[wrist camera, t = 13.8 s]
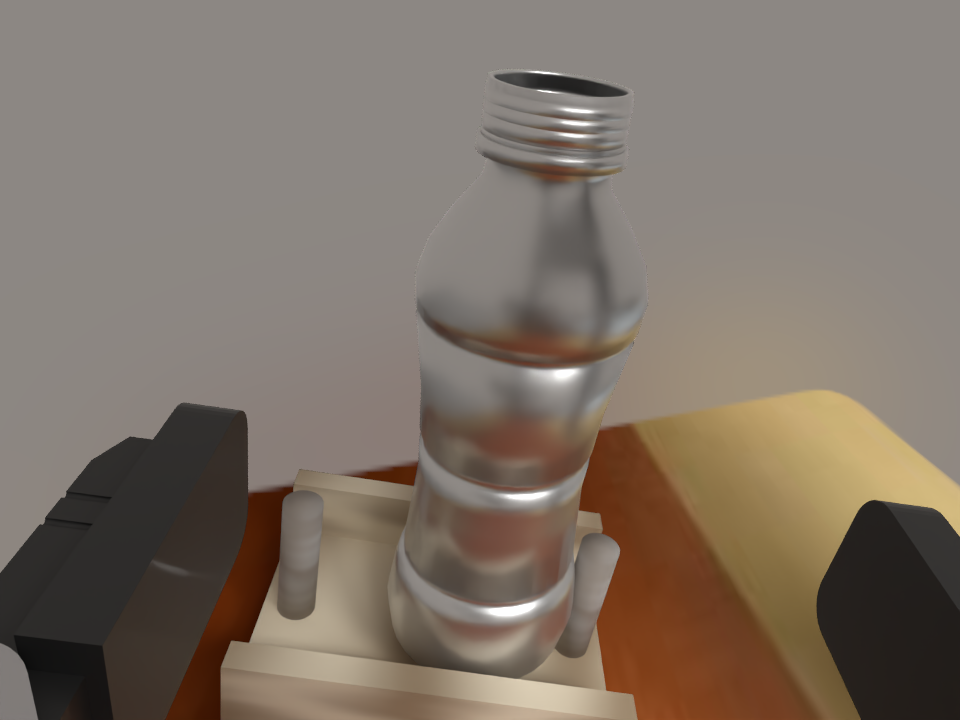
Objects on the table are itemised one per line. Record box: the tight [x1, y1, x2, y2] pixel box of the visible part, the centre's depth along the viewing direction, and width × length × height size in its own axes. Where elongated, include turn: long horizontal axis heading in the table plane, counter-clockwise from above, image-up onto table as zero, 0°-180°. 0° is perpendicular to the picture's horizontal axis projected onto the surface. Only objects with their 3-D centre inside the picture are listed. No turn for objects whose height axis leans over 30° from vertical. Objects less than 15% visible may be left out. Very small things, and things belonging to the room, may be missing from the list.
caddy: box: [221, 469, 637, 720], centre depth 28 cm, size 13×10×6 cm
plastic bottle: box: [387, 69, 648, 679], centre depth 23 cm, size 6×7×20 cm
